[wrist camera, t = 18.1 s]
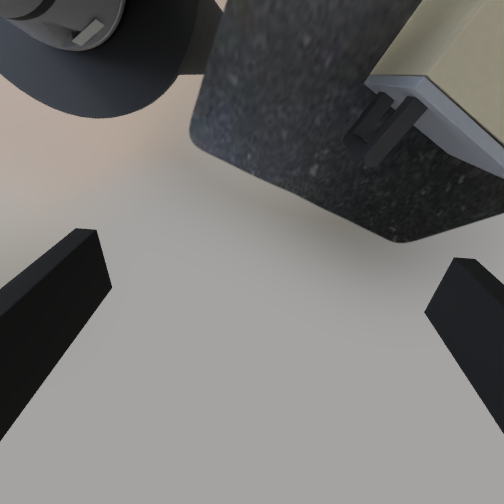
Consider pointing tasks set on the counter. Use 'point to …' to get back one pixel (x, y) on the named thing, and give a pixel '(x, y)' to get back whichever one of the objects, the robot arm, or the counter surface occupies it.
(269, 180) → the counter surface
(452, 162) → the counter surface
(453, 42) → the oven
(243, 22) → the counter surface
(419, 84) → the oven door
